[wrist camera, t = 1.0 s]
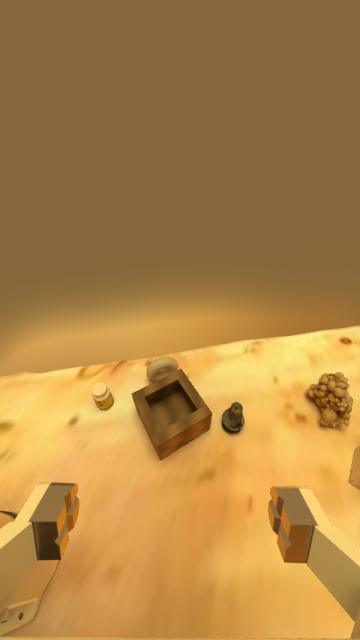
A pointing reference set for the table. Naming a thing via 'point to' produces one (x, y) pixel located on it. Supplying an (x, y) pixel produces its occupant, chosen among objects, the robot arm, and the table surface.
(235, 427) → the salt shaker
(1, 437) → the table surface
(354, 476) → the supplement box
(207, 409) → the box
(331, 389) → the mineral formation
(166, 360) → the donut
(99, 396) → the supplement bottle
